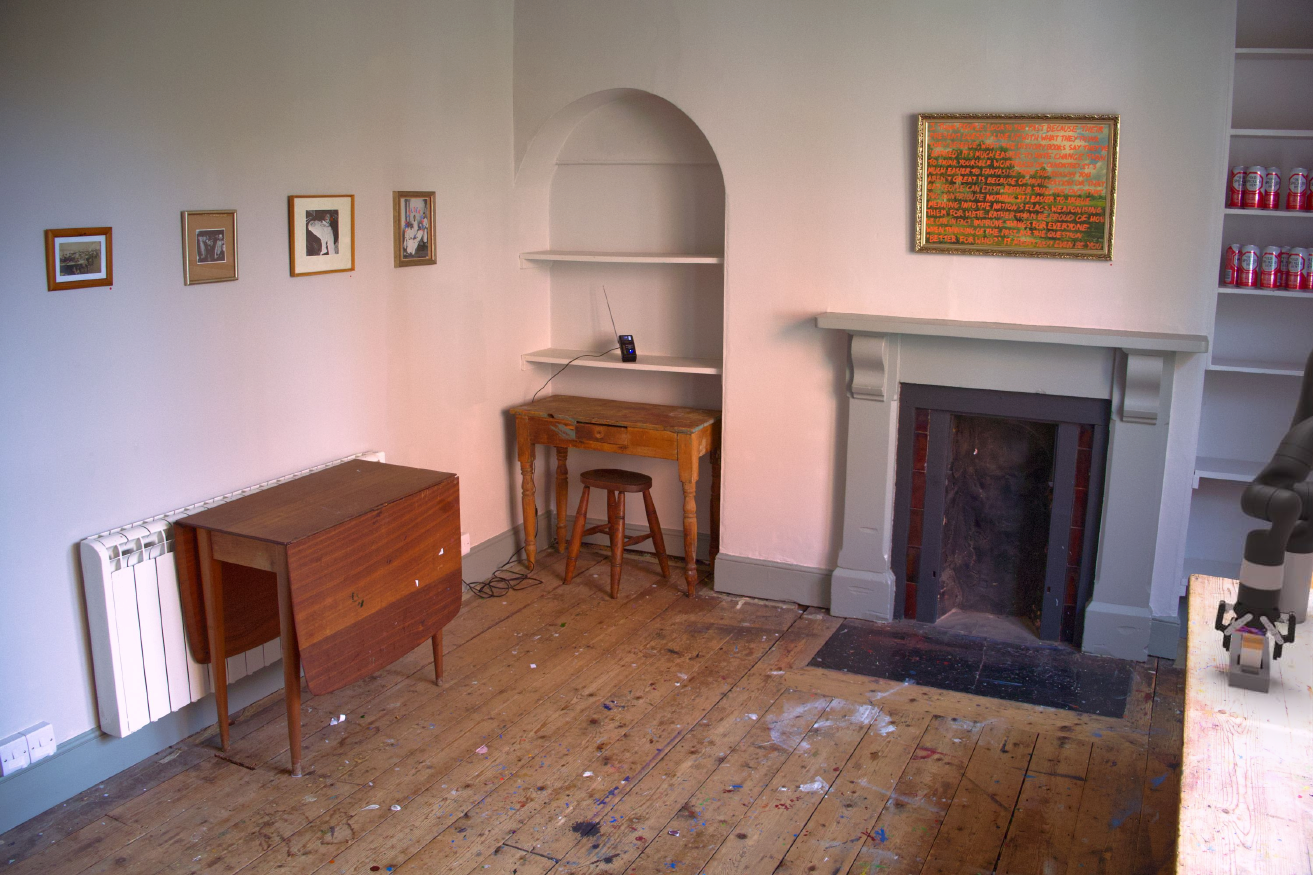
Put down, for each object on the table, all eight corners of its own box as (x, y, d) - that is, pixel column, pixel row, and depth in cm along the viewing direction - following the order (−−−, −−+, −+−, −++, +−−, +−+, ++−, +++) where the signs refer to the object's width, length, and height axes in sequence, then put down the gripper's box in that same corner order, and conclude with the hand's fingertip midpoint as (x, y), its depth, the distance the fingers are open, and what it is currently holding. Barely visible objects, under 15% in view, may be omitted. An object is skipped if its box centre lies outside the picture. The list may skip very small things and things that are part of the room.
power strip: (1230, 647, 231) (1232, 627, 230) (1266, 653, 228) (1269, 633, 226) (1227, 689, 212) (1230, 668, 211) (1267, 697, 209) (1270, 675, 208)
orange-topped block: (1238, 668, 219) (1243, 633, 217) (1258, 672, 217) (1262, 636, 215) (1238, 677, 215) (1242, 641, 213) (1258, 680, 214) (1263, 645, 212)
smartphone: (1222, 640, 234) (1231, 615, 246) (1222, 643, 234) (1231, 619, 246) (1262, 648, 229) (1269, 623, 241) (1261, 651, 230) (1268, 626, 242)
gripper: (1220, 581, 211) (1211, 654, 215) (1302, 593, 205) (1291, 669, 209) (1221, 569, 218) (1212, 640, 222) (1301, 580, 211) (1290, 654, 215)
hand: (1251, 654), depth 215 cm, fingers open, 8 cm apart
